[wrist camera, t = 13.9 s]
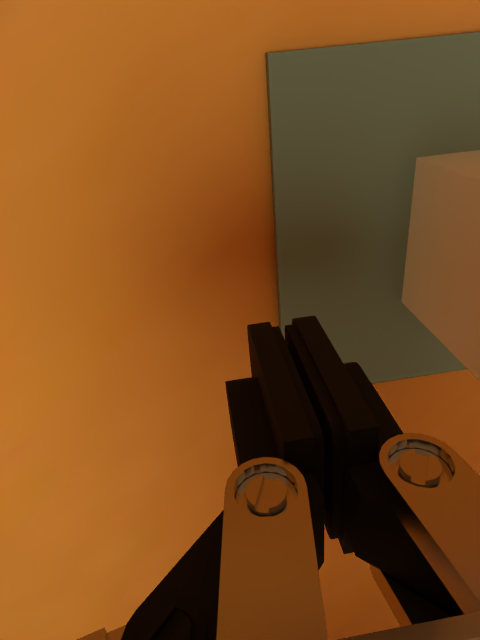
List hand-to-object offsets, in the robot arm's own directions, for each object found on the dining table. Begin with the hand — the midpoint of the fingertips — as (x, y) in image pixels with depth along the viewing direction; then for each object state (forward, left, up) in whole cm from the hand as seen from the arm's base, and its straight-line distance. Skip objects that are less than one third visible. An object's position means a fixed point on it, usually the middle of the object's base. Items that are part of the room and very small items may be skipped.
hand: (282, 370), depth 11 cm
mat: (0, -10, -8) cm, 12 cm away
